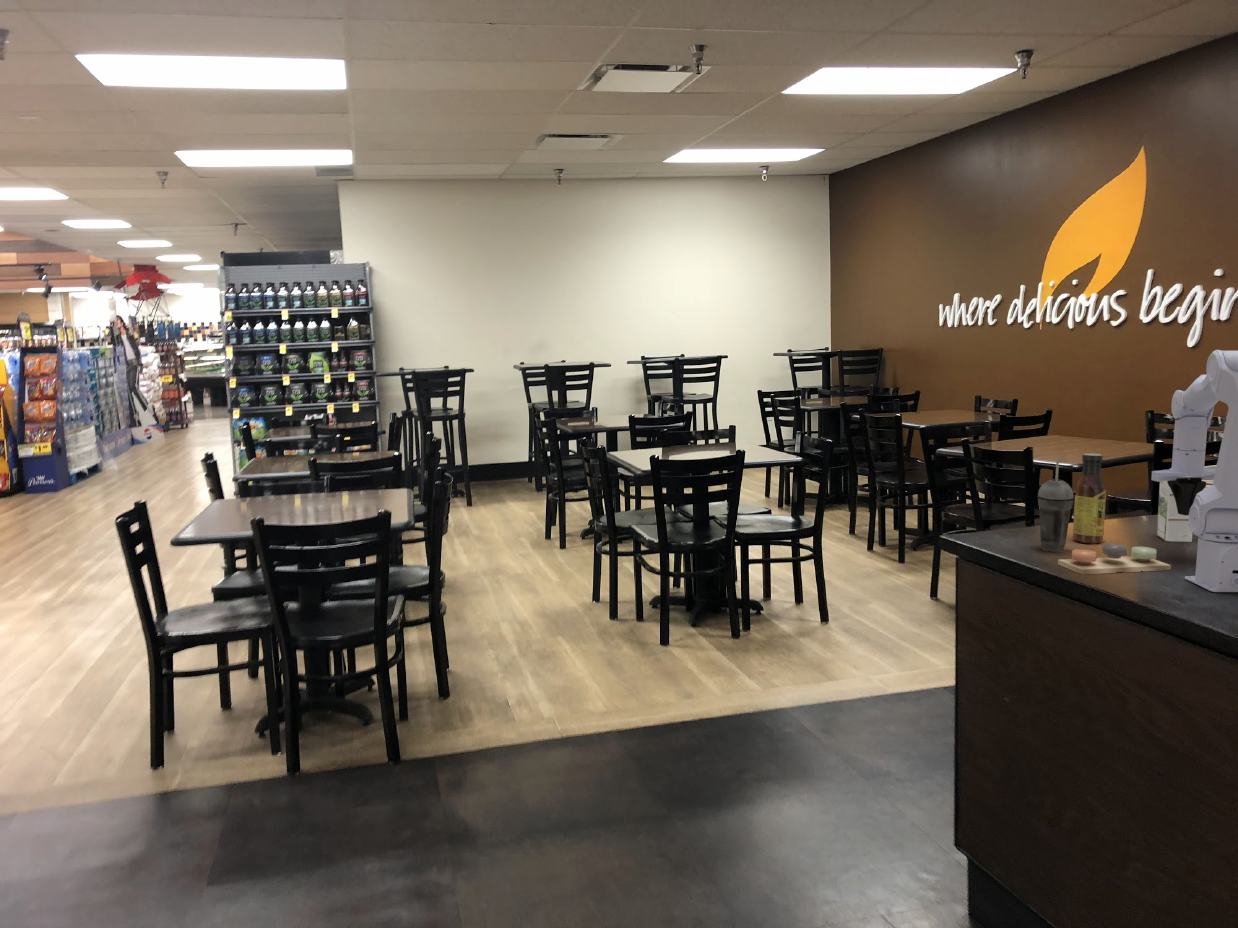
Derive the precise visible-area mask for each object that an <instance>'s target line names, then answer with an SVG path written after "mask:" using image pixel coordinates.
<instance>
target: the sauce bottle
mask: <svg viewBox="0 0 1238 928" xmlns="http://www.w3.org/2000/svg"><path fill="white" fill-rule="evenodd" d="M1103 457H1104V456H1103V454H1101V453H1083V454H1082V458H1081V460H1082V474H1081V475H1080V477H1079V478H1078V479H1077V481H1076V484H1075V493H1074V494H1075V495H1074V504H1073V505H1074V506H1073V509H1074V510H1073V525H1072V533H1073V536H1072V538H1073V540H1074V541H1075V542H1078V543H1083V544H1099V543H1102V542H1103V539H1104V538H1103V537H1104V534H1105V517H1106V504H1107V503H1106V502H1107V501H1106V499H1107V488H1106V485H1105V481H1104V479H1103V475H1102V462H1103V459H1104V458H1103Z"/></svg>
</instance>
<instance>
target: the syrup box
mask: <svg viewBox="0 0 1238 928" xmlns="http://www.w3.org/2000/svg"><path fill="white" fill-rule="evenodd" d="M1182 477H1183V476H1182ZM1167 482H1168V481H1162V482H1159V490H1158V491H1159V492H1158V506H1157V507H1158V509H1157V510H1158V511H1157V525H1156V526H1157V527H1156V536H1157V537H1159V538H1160V539H1162V540H1163V541H1165V542H1172V543H1192V541H1193V532H1192V531H1191V529H1190V527H1189V515H1181V514H1178V511H1177V506H1176V501H1175V498H1174V495H1173V493H1172V491H1171V489H1170V487H1169V485H1168V483H1167Z"/></svg>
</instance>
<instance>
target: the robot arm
mask: <svg viewBox="0 0 1238 928" xmlns="http://www.w3.org/2000/svg"><path fill="white" fill-rule="evenodd" d="M1205 370H1206V372H1205V373H1206V374H1200V375H1199V377H1197V378H1196V379H1195V380H1194V381H1193V382H1192V383H1191V384H1190V385H1189V386H1188V387H1187V389H1185V390H1180V389H1177V390H1175V392H1174V393H1173V395H1172V400H1171V407H1170V408H1171V414H1172V418H1173V419H1174V430H1173V445H1172V458H1171V459H1172V461H1171V467H1170V468H1169V469H1162V470H1161V469H1160V470H1152V471H1151V481H1154V482H1157V483H1158V482H1159V483H1160V482H1162V481H1168V482H1167V483H1168V485H1169V487H1170V489H1171V491H1172V493H1173V495H1174V498H1175V501H1176V506H1177V511H1178V514H1181V515H1189V527H1190V529H1191V531H1192V535H1195V536H1196V537H1198V538H1197V550H1196V551H1197V553H1196V564H1195V575H1190V576H1189V575H1187V576H1184V579H1185V580H1187V581H1189V582H1191V583H1193V584H1196V585H1198V586H1200V587H1202V588H1203V589H1205V590H1208V591H1210V592H1212V593H1238V350H1220V349H1215V350H1213V351H1212V352H1211V353H1210V355H1209V356H1208V358H1207V361H1206V369H1205ZM1219 401H1220V402H1222V403H1223V404H1226V406H1227V407H1228V410H1227V414H1226V420H1225V424H1224V428H1223V434H1222V439H1221V443H1220V448H1219V453H1218V459H1217V462H1216V468H1205V461H1206V448H1207V433H1208V429H1209V428H1211V421H1212V418H1213V413H1214V412H1215V411H1214V410H1215V405H1216V404H1218V402H1219ZM1182 476H1183V477H1182ZM1203 480H1204V481H1203ZM1205 480H1213V483H1212V484H1211V485H1210V486H1208V487H1207V482H1206V481H1205Z"/></svg>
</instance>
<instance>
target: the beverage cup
mask: <svg viewBox="0 0 1238 928" xmlns="http://www.w3.org/2000/svg"><path fill="white" fill-rule="evenodd" d="M1059 468H1060V458H1056V462H1055V477H1054V478H1053V479H1049V480H1047V481H1045V482H1043V483H1042V484H1041V486H1040V488H1039V489H1038V492H1037V496H1036V497H1037V502H1038V504H1037V505H1038V507H1039V532H1040V545H1041V547H1040V548H1041V550H1042V551H1044V550H1045V551H1044V552H1048V551H1052V552H1051V553H1063V552H1065V546H1066V543H1067V536H1068V529H1069V524H1070V523H1069V521H1070V517H1071V510H1072V508H1073V505H1074V504H1073V503H1074V501H1075V496H1074V492H1073V489H1072V487H1071V486H1070V484H1069V483H1067V482H1066V481H1065V480H1062V479H1059ZM1062 551H1063V552H1062Z"/></svg>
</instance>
